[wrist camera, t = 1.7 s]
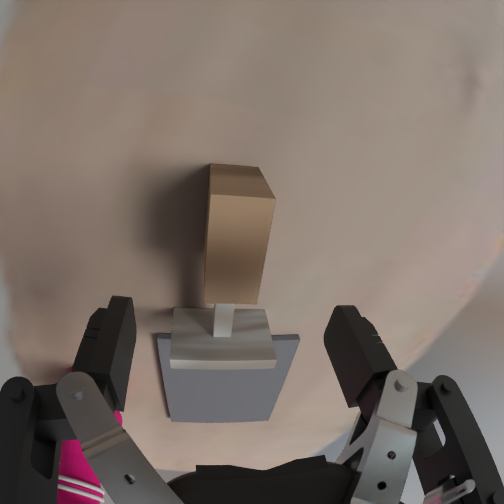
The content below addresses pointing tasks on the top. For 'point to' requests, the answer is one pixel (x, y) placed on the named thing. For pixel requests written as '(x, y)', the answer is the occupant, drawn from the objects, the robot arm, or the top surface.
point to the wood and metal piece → (230, 278)
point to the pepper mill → (78, 475)
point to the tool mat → (225, 387)
